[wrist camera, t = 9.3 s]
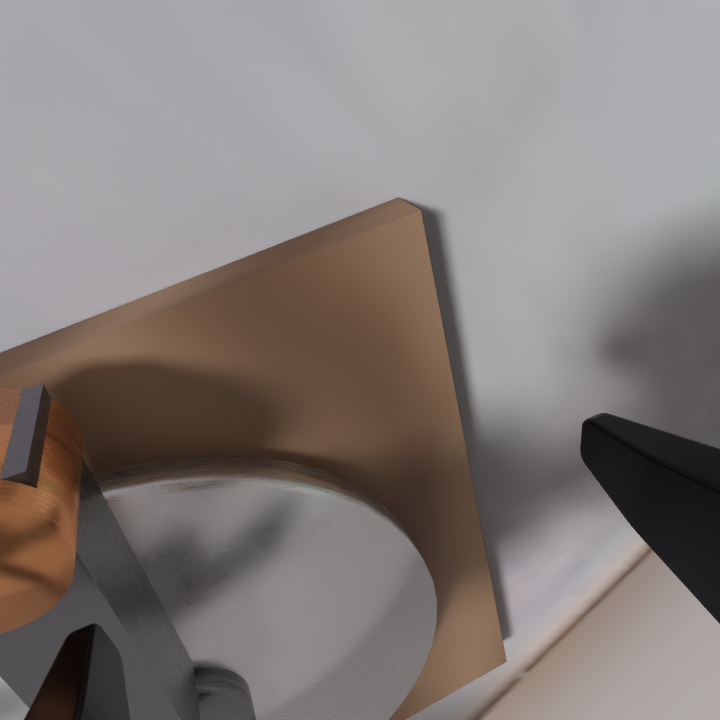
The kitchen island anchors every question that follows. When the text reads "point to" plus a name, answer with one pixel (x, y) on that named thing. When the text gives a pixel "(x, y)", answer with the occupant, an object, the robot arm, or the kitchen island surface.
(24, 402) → the handwheel
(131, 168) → the kitchen island surface
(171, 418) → the wheel base
